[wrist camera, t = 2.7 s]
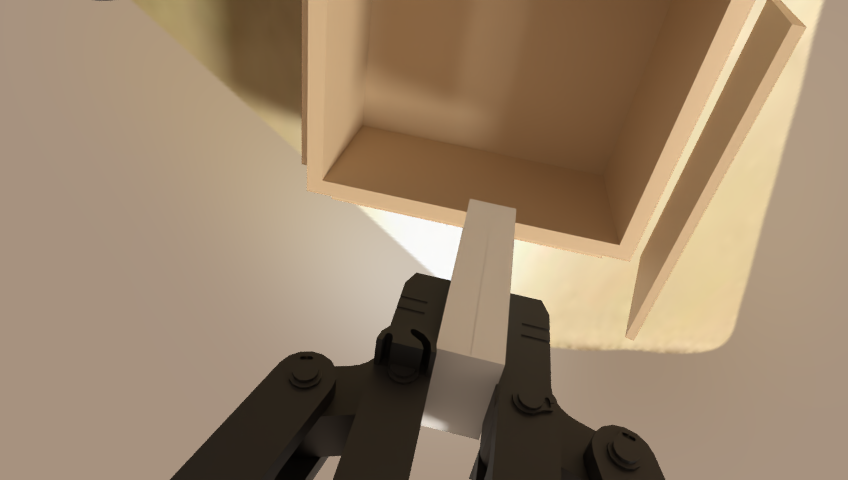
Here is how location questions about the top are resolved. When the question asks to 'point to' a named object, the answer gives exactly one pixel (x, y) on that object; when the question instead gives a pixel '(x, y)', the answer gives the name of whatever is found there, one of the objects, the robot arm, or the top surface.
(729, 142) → the flap
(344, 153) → the open wooden box
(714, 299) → the top surface
